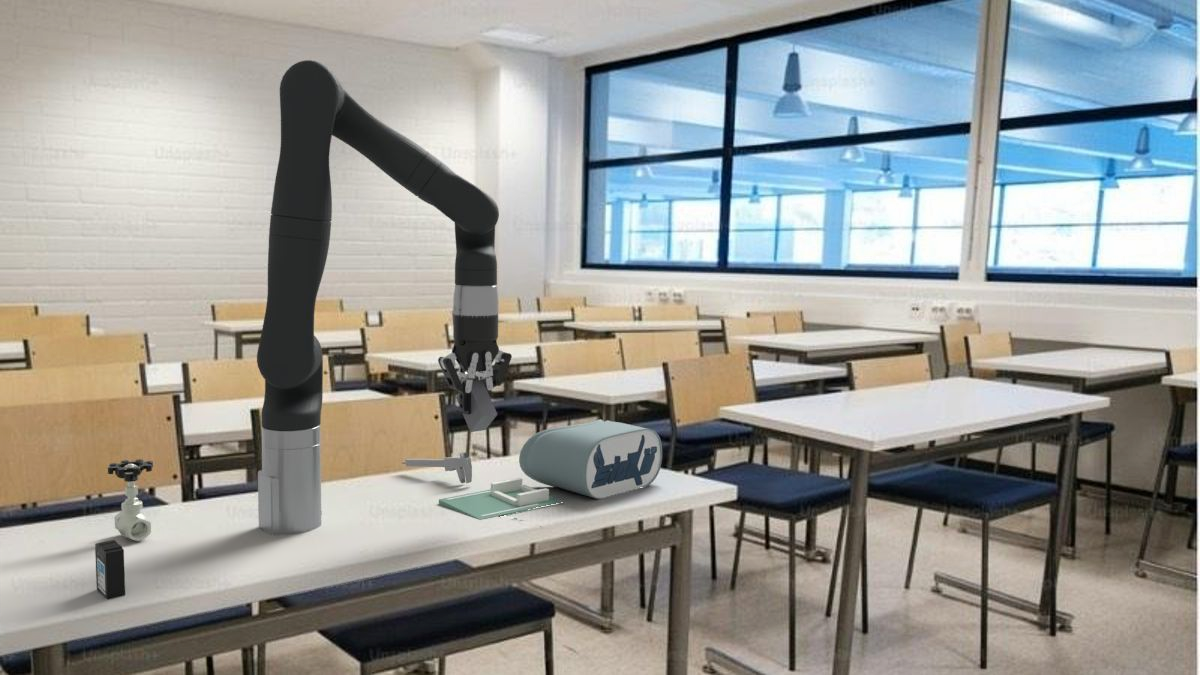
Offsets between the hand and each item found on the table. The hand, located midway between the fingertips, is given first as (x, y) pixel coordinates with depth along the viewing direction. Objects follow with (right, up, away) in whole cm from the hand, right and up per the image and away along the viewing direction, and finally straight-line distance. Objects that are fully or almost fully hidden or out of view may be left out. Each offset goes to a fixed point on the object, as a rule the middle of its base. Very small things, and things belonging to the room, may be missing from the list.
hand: (475, 412), depth 155 cm
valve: (-53, -19, -10) cm, 58 cm away
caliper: (-13, -17, +30) cm, 37 cm away
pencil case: (+19, -17, +26) cm, 37 cm away
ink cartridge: (-44, -23, -35) cm, 60 cm away
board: (+3, -18, +11) cm, 22 cm away
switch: (+2, -2, -2) cm, 3 cm away
